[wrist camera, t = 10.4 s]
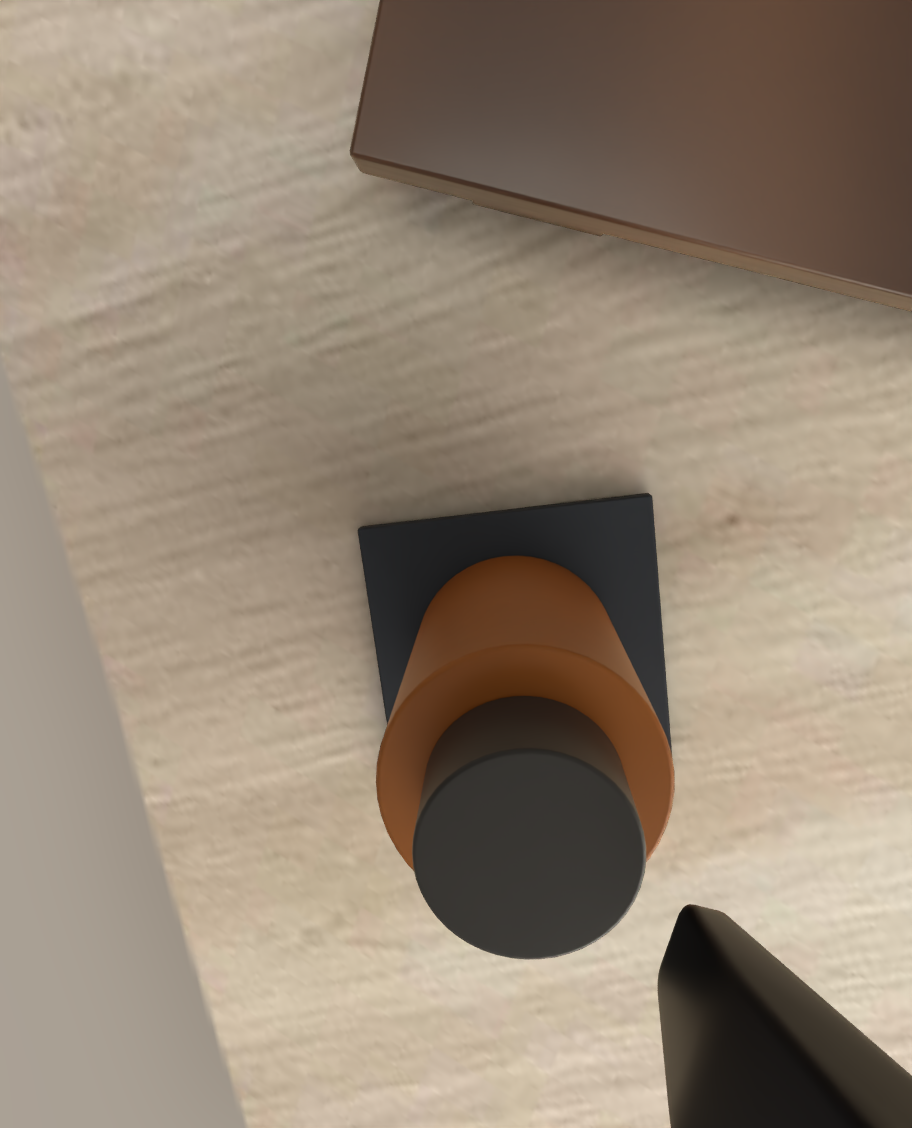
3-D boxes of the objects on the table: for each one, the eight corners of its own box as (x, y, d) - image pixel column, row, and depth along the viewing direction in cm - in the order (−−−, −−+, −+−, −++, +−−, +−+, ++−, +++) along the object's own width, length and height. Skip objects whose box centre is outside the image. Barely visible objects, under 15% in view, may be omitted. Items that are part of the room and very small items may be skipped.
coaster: (399, 788, 21) (397, 796, 21) (359, 526, 20) (357, 529, 19) (670, 764, 21) (673, 771, 20) (649, 492, 19) (652, 494, 19)
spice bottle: (431, 750, 20) (380, 1021, 12) (404, 566, 20) (328, 711, 11) (622, 732, 20) (717, 998, 11) (605, 544, 19) (696, 675, 10)
